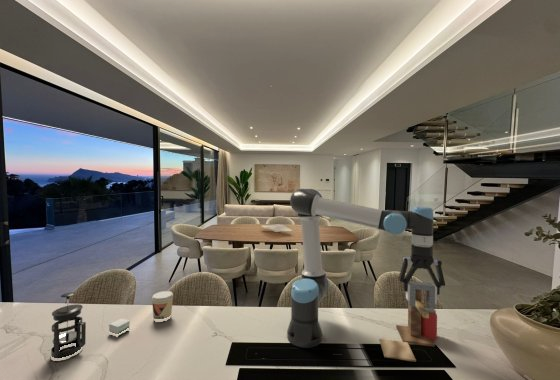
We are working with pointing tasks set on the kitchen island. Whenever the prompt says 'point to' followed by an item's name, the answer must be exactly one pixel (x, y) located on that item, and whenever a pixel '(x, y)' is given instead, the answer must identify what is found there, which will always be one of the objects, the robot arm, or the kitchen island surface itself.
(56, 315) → the french press
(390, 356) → the coaster
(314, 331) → the robot arm
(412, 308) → the stand
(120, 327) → the small box
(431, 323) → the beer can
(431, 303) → the gray arch block
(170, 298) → the coffee cup
